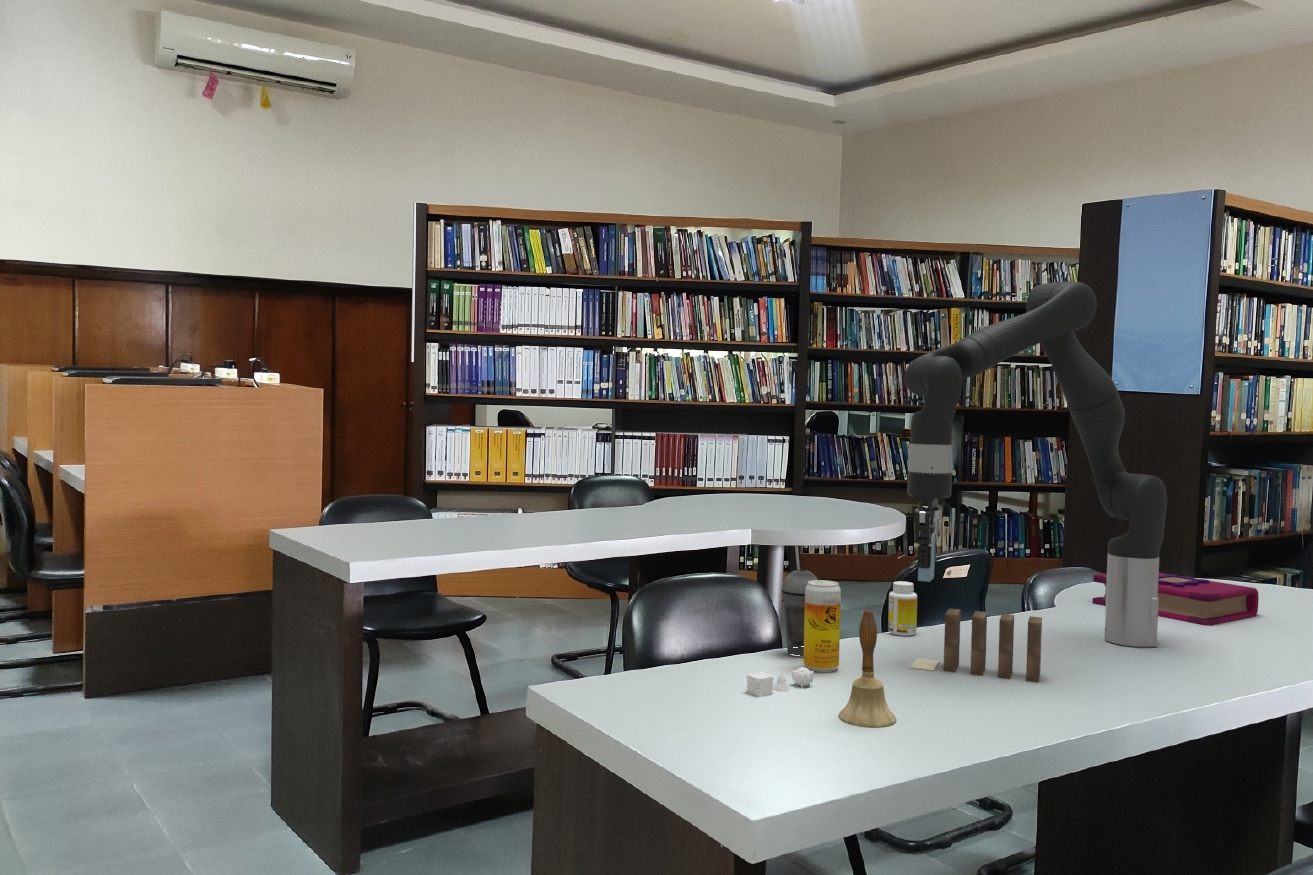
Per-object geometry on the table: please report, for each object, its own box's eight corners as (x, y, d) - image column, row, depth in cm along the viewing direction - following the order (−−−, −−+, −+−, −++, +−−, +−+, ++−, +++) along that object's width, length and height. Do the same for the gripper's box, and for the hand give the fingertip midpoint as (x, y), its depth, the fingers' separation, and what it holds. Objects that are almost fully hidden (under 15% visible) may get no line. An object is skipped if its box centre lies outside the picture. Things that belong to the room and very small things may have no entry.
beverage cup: (810, 661, 180) (813, 549, 179) (773, 655, 184) (775, 546, 183) (826, 653, 186) (828, 545, 186) (789, 647, 190) (792, 541, 189)
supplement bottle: (922, 634, 203) (923, 583, 203) (904, 638, 200) (906, 586, 199) (899, 629, 207) (900, 579, 207) (882, 632, 204) (883, 582, 203)
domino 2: (958, 665, 179) (960, 609, 179) (955, 672, 175) (957, 614, 174) (947, 664, 180) (948, 608, 180) (943, 670, 176) (945, 613, 175)
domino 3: (985, 668, 178) (987, 612, 177) (982, 675, 173) (984, 617, 173) (973, 667, 178) (975, 611, 178) (970, 674, 174) (972, 616, 173)
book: (1140, 596, 250) (1141, 566, 250) (1258, 618, 227) (1259, 584, 227) (1089, 604, 239) (1090, 572, 239) (1208, 628, 216) (1209, 593, 215)
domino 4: (1012, 671, 176) (1014, 614, 175) (1010, 678, 171) (1012, 620, 171) (1000, 670, 177) (1002, 613, 176) (997, 677, 172) (999, 619, 172)
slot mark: (939, 661, 182) (939, 660, 182) (933, 670, 175) (933, 669, 175) (916, 659, 183) (916, 657, 183) (910, 668, 177) (910, 667, 177)
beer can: (817, 674, 171) (819, 587, 171) (796, 666, 177) (798, 581, 176) (846, 671, 174) (848, 584, 174) (824, 662, 180) (826, 578, 179)
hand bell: (860, 730, 143) (863, 618, 142) (827, 713, 150) (830, 607, 150) (908, 723, 146) (911, 614, 146) (873, 707, 154) (876, 603, 153)
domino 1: (933, 577, 181) (935, 521, 180) (929, 581, 176) (931, 524, 176) (922, 576, 182) (924, 521, 181) (917, 580, 177) (919, 523, 177)
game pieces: (758, 699, 158) (758, 679, 158) (745, 694, 161) (746, 674, 161) (817, 687, 164) (817, 668, 164) (803, 682, 167) (804, 663, 167)
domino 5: (1040, 675, 174) (1042, 617, 174) (1038, 682, 169) (1040, 623, 169) (1027, 673, 175) (1029, 616, 174) (1025, 680, 170) (1027, 621, 170)
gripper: (946, 473, 170) (942, 573, 171) (957, 468, 183) (953, 562, 184) (900, 470, 173) (897, 569, 174) (915, 466, 186) (912, 558, 187)
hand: (926, 565), depth 179 cm, fingers closed on domino 1, 5 cm apart
